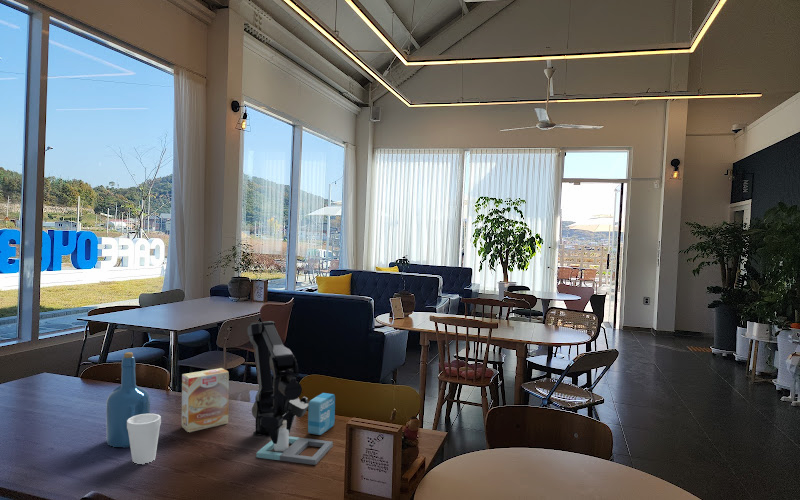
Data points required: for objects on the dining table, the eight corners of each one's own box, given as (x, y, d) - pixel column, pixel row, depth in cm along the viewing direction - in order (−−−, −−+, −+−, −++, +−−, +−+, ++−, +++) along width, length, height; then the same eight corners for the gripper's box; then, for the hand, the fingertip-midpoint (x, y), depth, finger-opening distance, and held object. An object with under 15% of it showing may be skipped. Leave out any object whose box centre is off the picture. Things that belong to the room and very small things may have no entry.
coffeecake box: (188, 433, 190) (188, 378, 189) (180, 427, 195) (181, 373, 194) (229, 423, 200) (229, 371, 199) (221, 418, 205) (221, 367, 204)
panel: (256, 457, 171) (256, 452, 171) (277, 439, 186) (277, 435, 186) (315, 464, 167) (315, 460, 166) (332, 446, 181) (332, 441, 181)
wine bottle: (156, 441, 182) (157, 353, 180) (114, 453, 172) (114, 359, 171) (140, 430, 191) (140, 346, 190) (99, 440, 181) (99, 352, 180)
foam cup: (127, 469, 161) (127, 426, 161) (126, 457, 169) (126, 416, 169) (161, 463, 166) (161, 421, 165) (159, 451, 174) (159, 411, 173)
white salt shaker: (285, 452, 175) (286, 423, 175) (273, 451, 175) (273, 423, 175) (289, 447, 179) (289, 419, 179) (277, 446, 179) (277, 418, 179)
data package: (318, 436, 189) (319, 402, 188) (307, 434, 190) (308, 401, 190) (334, 425, 200) (335, 393, 200) (324, 423, 202) (324, 391, 201)
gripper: (292, 402, 166) (292, 452, 166) (316, 385, 184) (315, 430, 184) (259, 399, 168) (259, 448, 169) (286, 382, 186) (285, 427, 187)
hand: (281, 438), depth 177 cm, fingers open, 9 cm apart
